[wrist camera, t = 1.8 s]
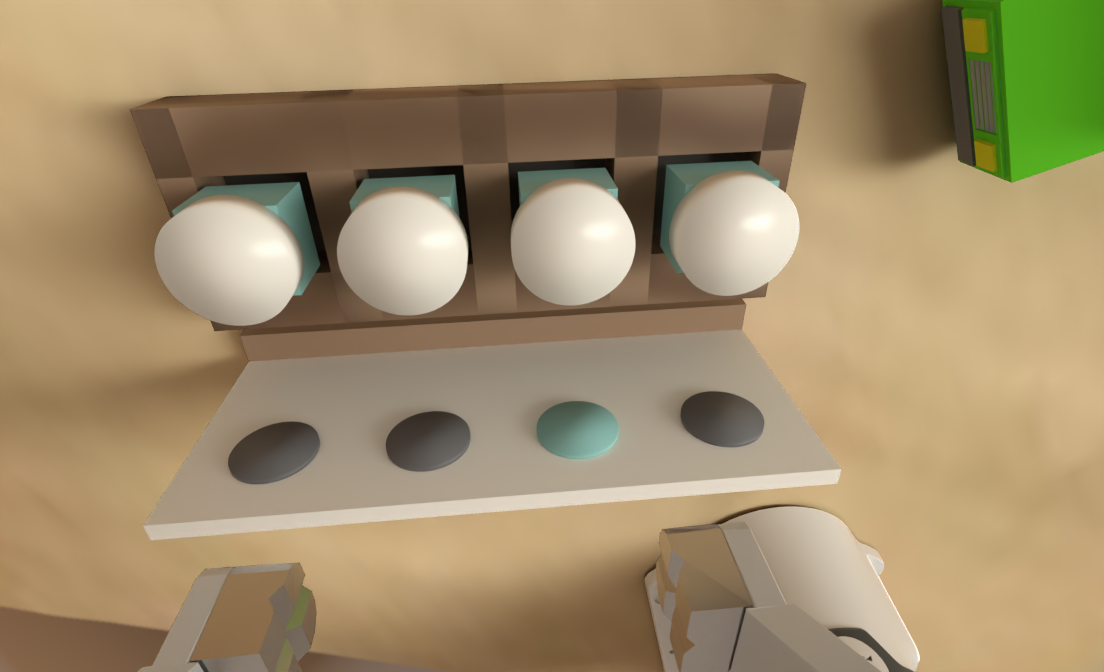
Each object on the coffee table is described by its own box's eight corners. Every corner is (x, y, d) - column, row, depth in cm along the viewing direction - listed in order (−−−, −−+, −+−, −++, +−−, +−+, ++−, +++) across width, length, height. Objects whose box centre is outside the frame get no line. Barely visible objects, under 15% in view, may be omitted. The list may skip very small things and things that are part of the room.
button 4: (334, 274, 27) (307, 321, 23) (226, 280, 26) (182, 329, 23) (308, 169, 24) (274, 203, 20) (189, 175, 24) (132, 210, 20)
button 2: (613, 258, 27) (632, 301, 24) (512, 263, 27) (515, 309, 23) (617, 155, 25) (638, 185, 21) (505, 160, 25) (507, 192, 21)
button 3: (475, 265, 27) (472, 311, 23) (371, 271, 27) (351, 319, 23) (465, 162, 24) (460, 194, 21) (349, 167, 24) (323, 201, 20)
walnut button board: (743, 271, 32) (765, 296, 29) (238, 301, 30) (214, 331, 28) (776, 73, 27) (806, 83, 24) (167, 96, 25) (129, 109, 22)
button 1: (747, 250, 28) (786, 292, 24) (648, 256, 28) (673, 299, 24) (764, 148, 25) (810, 177, 22) (655, 153, 25) (684, 183, 21)
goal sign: (729, 355, 35) (828, 510, 24) (267, 386, 33) (166, 567, 23) (739, 296, 33) (851, 439, 22) (246, 326, 31) (125, 495, 21)
